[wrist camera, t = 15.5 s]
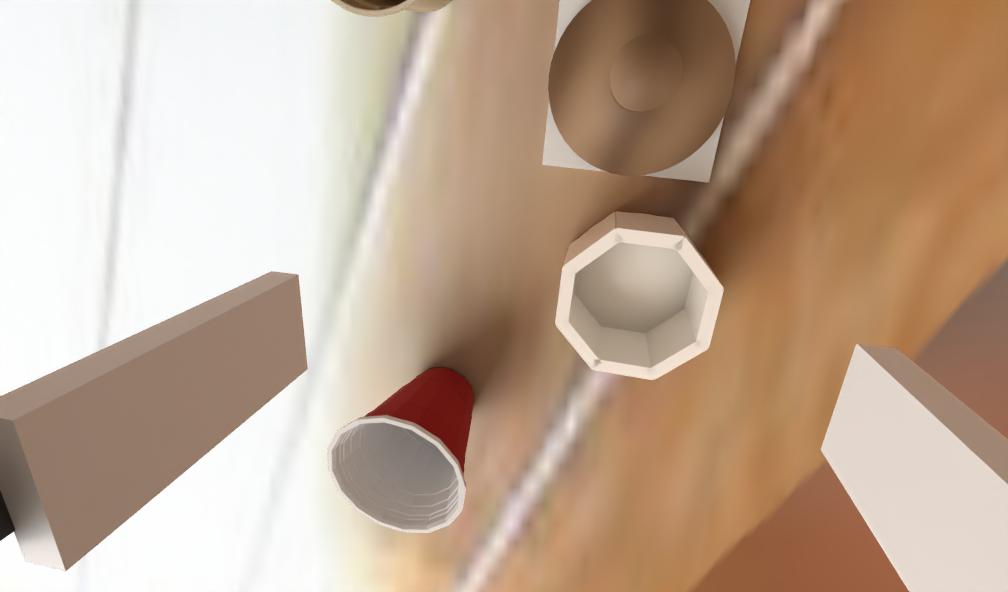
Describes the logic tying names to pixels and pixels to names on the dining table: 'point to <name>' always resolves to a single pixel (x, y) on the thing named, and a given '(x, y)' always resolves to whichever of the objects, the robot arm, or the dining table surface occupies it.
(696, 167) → the mat
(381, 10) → the flower pot
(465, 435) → the plastic cup
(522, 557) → the dining table surface
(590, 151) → the lid
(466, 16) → the dining table surface
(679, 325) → the bowl
